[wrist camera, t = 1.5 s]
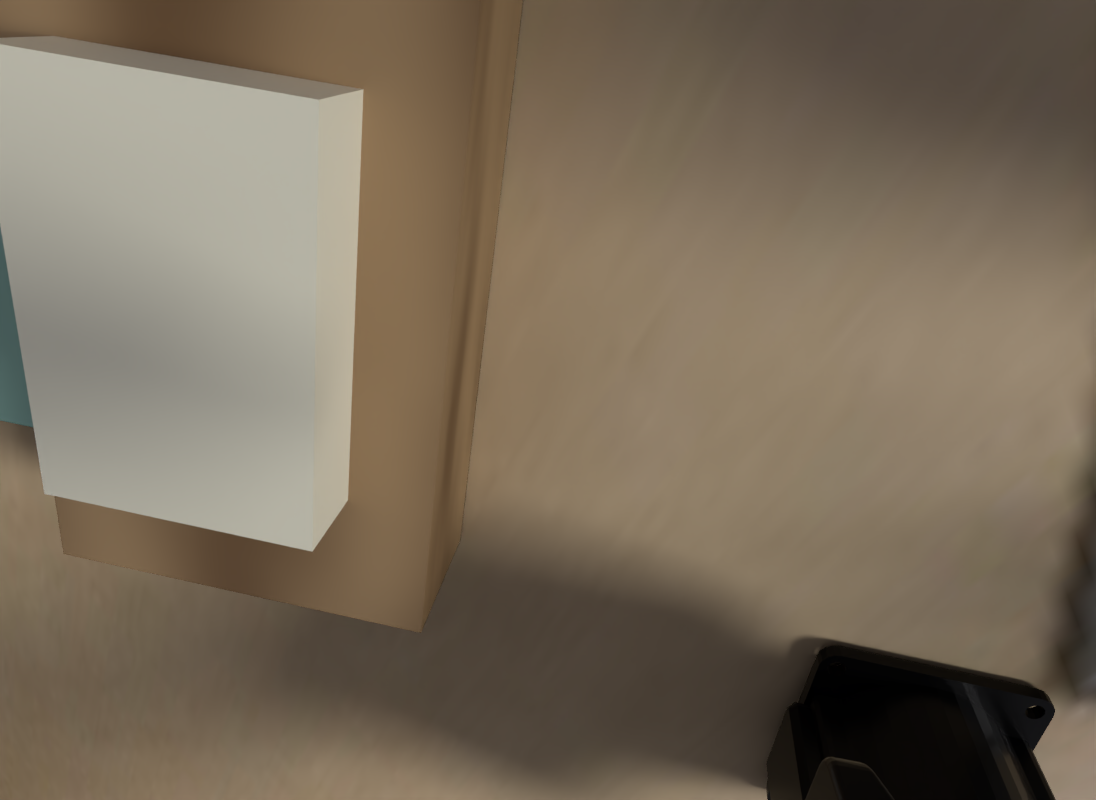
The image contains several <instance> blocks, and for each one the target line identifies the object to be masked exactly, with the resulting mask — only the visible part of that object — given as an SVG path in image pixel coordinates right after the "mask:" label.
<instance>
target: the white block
mask: <svg viewBox="0 0 1096 800" xmlns="http://www.w3.org/2000/svg"><path fill="white" fill-rule="evenodd" d="M362 114H363V89H359V88H353V87H348V86H342V85H336V84H330V83H324V82H319V81H313V80H307V79H301V78H295V77H290V76H284V75H278V74H272V73H266V72H261V71H255V70H249V69H243V68H237V67H232V66H226V65H220V64H214V63H208V62H203V61H197V60H191V59H185V58H179V57H174V56H168V55H162V54H156V53H150V52H145V51H139V50H133V49H127V48H121V47H116V46H110V45H104V44H98V43H92V42H87V41H81V40H75V39H69V38H63V37H58V36H37V37H8V38H0V227H1V233H2V239H3V245H4V251H5V257H6V263H7V269H8V276H9V282H10V288H11V294H12V300H13V306H14V312H15V318H16V324H17V330H18V336H19V342H20V348H21V354H22V360H23V367H24V373H25V379H26V385H27V391H28V397H29V403H30V409H31V415H32V421H33V427H34V433H35V439H36V445H37V452H38V458H39V464H40V470H41V476H42V482H43V488H44V494H48V495H53V496H57V497H62V498H67V499H71V500H76V501H80V502H85V503H90V504H94V505H99V506H104V507H108V508H113V509H117V510H122V511H127V512H131V513H136V514H141V515H145V516H150V517H154V518H159V519H164V520H168V521H173V522H178V523H182V524H187V525H191V526H196V527H201V528H205V529H210V530H215V531H219V532H224V533H228V534H233V535H238V536H242V537H247V538H251V539H256V540H261V541H265V542H270V543H275V544H279V545H284V546H288V547H293V548H298V549H302V550H307V551H312V552H313V550H314V549H315V547H316V546H317V544H318V543H319V541H320V540H321V539H322V537H323V536H324V534H325V533H326V531H327V530H328V528H329V527H330V526H331V524H332V523H333V521H334V520H335V518H336V517H337V515H338V514H339V512H340V511H341V510H342V508H343V507H344V505H345V504H346V502H347V501H348V486H349V459H350V433H351V406H352V379H353V353H354V326H355V300H356V273H357V246H358V220H359V193H360V167H361V140H362Z"/></svg>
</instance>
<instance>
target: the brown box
mask: <svg viewBox="0 0 1096 800" xmlns="http://www.w3.org/2000/svg"><path fill="white" fill-rule="evenodd" d="M522 5H523V0H0V38H8V37H37V36H58V37H63V38H69V39H75V40H81V41H87V42H92V43H98V44H104V45H110V46H116V47H121V48H127V49H133V50H139V51H145V52H150V53H156V54H162V55H168V56H174V57H179V58H185V59H191V60H197V61H203V62H208V63H214V64H220V65H226V66H232V67H237V68H243V69H249V70H255V71H261V72H266V73H272V74H278V75H284V76H290V77H295V78H301V79H307V80H313V81H319V82H324V83H330V84H336V85H342V86H348V87H353V88H359V89H363V114H362V140H361V167H360V193H359V220H358V246H357V273H356V300H355V326H354V353H353V379H352V406H351V433H350V459H349V486H348V501H347V502H346V504H345V505H344V507H343V508H342V510H341V511H340V512H339V514H338V515H337V517H336V518H335V520H334V521H333V523H332V524H331V526H330V527H329V528H328V530H327V531H326V533H325V534H324V536H323V537H322V539H321V540H320V541H319V543H318V544H317V546H316V547H315V549H314V550H313V552H312V551H307V550H302V549H298V548H293V547H288V546H284V545H279V544H275V543H270V542H265V541H261V540H256V539H251V538H247V537H242V536H238V535H233V534H228V533H224V532H219V531H215V530H210V529H205V528H201V527H196V526H191V525H187V524H182V523H178V522H173V521H168V520H164V519H159V518H154V517H150V516H145V515H141V514H136V513H131V512H127V511H122V510H117V509H113V508H108V507H104V506H99V505H94V504H90V503H85V502H80V501H76V500H71V499H67V498H62V497H57V496H55V503H56V509H57V515H58V522H59V528H60V534H61V541H62V547H63V553H64V554H67V555H71V556H76V557H80V558H85V559H89V560H94V561H98V562H103V563H107V564H112V565H116V566H121V567H125V568H130V569H134V570H139V571H143V572H148V573H152V574H157V575H161V576H166V577H170V578H175V579H180V580H184V581H189V582H193V583H198V584H202V585H207V586H211V587H216V588H220V589H225V590H229V591H234V592H238V593H243V594H247V595H252V596H256V597H261V598H265V599H270V600H274V601H279V602H283V603H288V604H292V605H297V606H301V607H306V608H310V609H315V610H319V611H324V612H328V613H333V614H337V615H342V616H346V617H351V618H355V619H360V620H364V621H369V622H373V623H378V624H382V625H387V626H391V627H396V628H401V629H405V630H410V631H414V632H419V633H421V631H422V629H423V627H424V624H425V622H426V620H427V617H428V615H429V613H430V610H431V608H432V605H433V603H434V601H435V598H436V596H437V594H438V591H439V589H440V587H441V584H442V582H443V580H444V577H445V575H446V572H447V570H448V568H449V565H450V563H451V561H452V558H453V556H454V554H455V551H456V549H457V547H458V544H459V542H460V539H461V531H462V522H463V514H464V505H465V496H466V488H467V479H468V471H469V462H470V453H471V445H472V436H473V427H474V419H475V410H476V402H477V393H478V384H479V376H480V367H481V358H482V350H483V341H484V333H485V324H486V315H487V307H488V298H489V289H490V281H491V272H492V264H493V255H494V246H495V238H496V229H497V221H498V212H499V203H500V195H501V186H502V177H503V169H504V160H505V152H506V143H507V134H508V126H509V117H510V108H511V100H512V91H513V83H514V74H515V65H516V57H517V48H518V39H519V31H520V22H521V14H522Z"/></svg>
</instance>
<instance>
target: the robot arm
mask: <svg viewBox="0 0 1096 800" xmlns="http://www.w3.org/2000/svg"><path fill="white" fill-rule="evenodd" d="M834 662H840V663H841V664H840V665H838V666H831V665H830V664H832V663H834ZM1034 705H1035V706H1036V707H1033V708H1028V707H1031V706H1034ZM1054 713H1055V709H1054V706H1053V704H1052V702H1051V700H1050V698H1049V697H1048V695H1047V694H1046V693H1045V692H1044V691H1042V690H1039V689H1037V688H1032V687H1027V686H1023V685H1018V684H1013V683H1009V682H1004V681H999V680H995V679H990V678H985V677H981V676H976V675H971V674H967V673H962V672H957V671H953V670H948V669H943V668H939V667H934V666H930V665H925V664H920V663H916V662H911V661H906V660H902V659H897V658H892V657H888V656H883V655H878V654H874V653H869V652H864V651H860V650H855V649H850V648H846V647H841V646H829V647H825V648H824V649H822V650H821V651H820V652H819V653H818V655H817V657H816V659H815V662H814V664H813V667H812V669H811V672H810V674H809V677H808V679H807V682H806V685H805V687H804V690H803V692H802V695H801V697H800V700H799V702H798V703H797V702H795V703H793V704H792V705H791V706H789V707H788V708H787V710H786V713H785V716H784V718H783V721H782V723H781V726H780V729H779V731H778V734H777V736H776V739H775V742H774V744H773V747H772V749H771V752H770V755H769V757H768V760H767V772H768V781H767V786H766V790H767V799H768V800H1056V799H1055V797H1054V795H1053V793H1052V791H1051V789H1050V787H1049V785H1048V782H1047V780H1046V778H1045V776H1044V774H1043V772H1042V770H1041V768H1040V765H1039V763H1038V761H1037V759H1036V757H1035V755H1034V753H1033V750H1034V748H1035V747H1036V745H1037V743H1038V742H1039V740H1040V738H1041V736H1042V735H1043V733H1044V731H1045V730H1046V728H1047V726H1048V725H1049V723H1050V721H1051V720H1052V718H1053V716H1054Z"/></svg>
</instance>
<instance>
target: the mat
mask: <svg viewBox="0 0 1096 800" xmlns="http://www.w3.org/2000/svg"><path fill="white" fill-rule="evenodd" d="M0 420H1V421H6V422H10V423H15V424H20V425H25V426H29V427H33V421H32V415H31V409H30V403H29V397H28V391H27V385H26V379H25V373H24V367H23V360H22V354H21V348H20V342H19V336H18V330H17V324H16V318H15V312H14V306H13V300H12V294H11V288H10V282H9V276H8V269H7V263H6V257H5V251H4V245H3V239H2V233H1V227H0Z"/></svg>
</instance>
